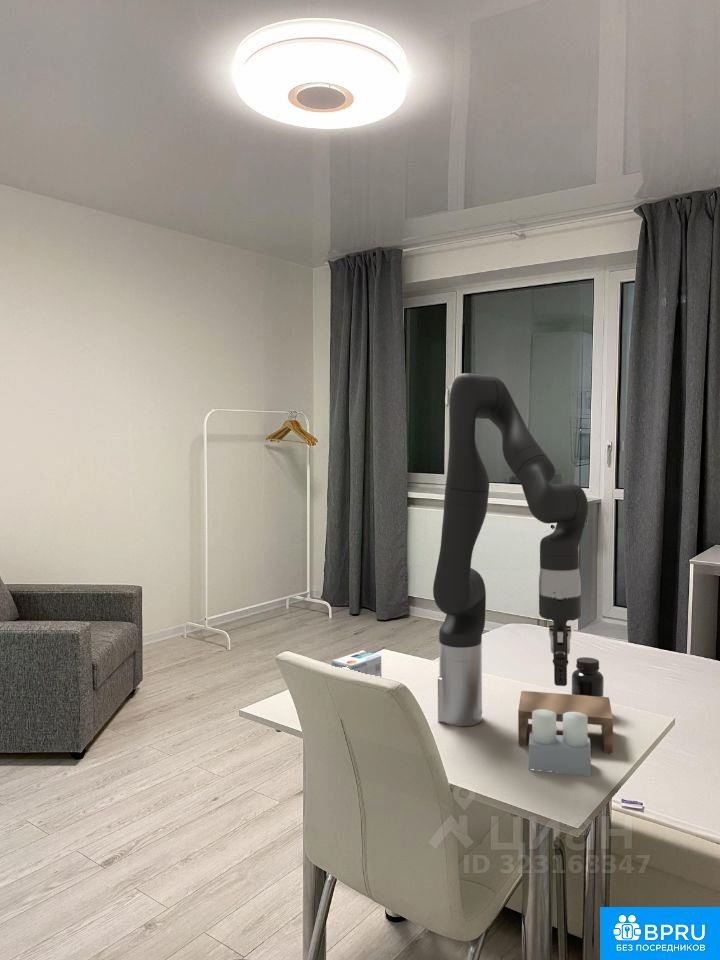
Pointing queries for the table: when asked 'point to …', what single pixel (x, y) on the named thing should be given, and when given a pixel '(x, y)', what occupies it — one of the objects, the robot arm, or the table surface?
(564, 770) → the salt and pepper set
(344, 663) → the light bulb box
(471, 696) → the robot arm
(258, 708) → the table surface
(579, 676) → the supplement bottle
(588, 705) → the walnut shelf
